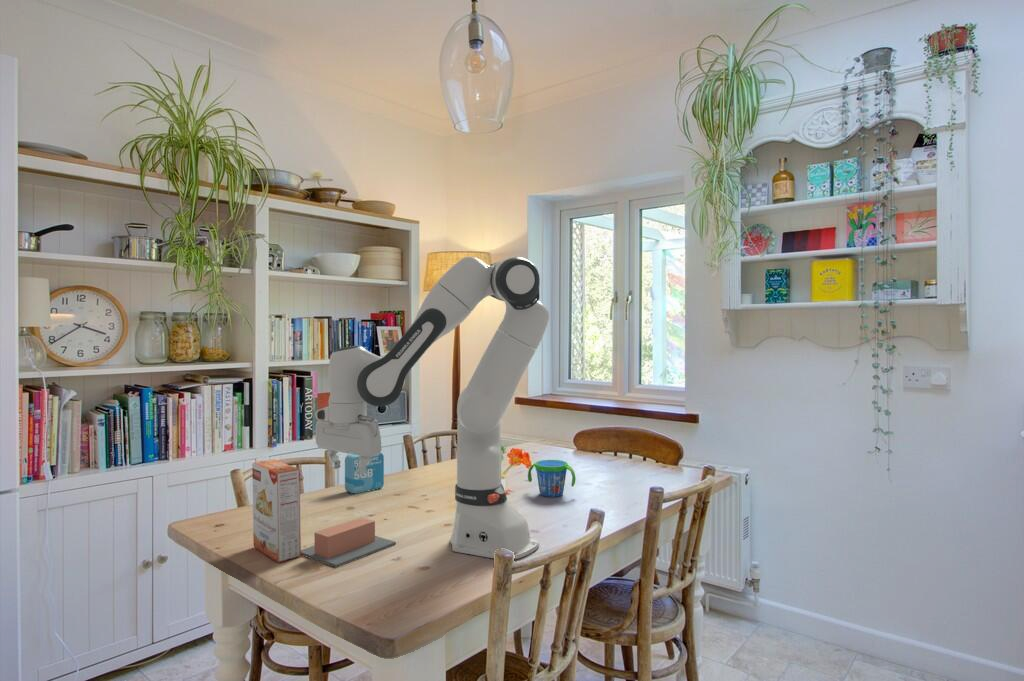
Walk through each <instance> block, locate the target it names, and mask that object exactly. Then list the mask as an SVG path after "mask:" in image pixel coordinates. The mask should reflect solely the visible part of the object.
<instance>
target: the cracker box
mask: <svg viewBox="0 0 1024 681" xmlns="http://www.w3.org/2000/svg"><path fill="white" fill-rule="evenodd" d="M251 464H252V466H251V467H252V468H251V469H252V520H253V521H252V522H253V523H252V527H253V530H252V531H253V537H252V538H253V547H254V548H255V549H257V550H259V551H260V553H261V552H262V553H263V554H265V555H266V556H267V557H269V558H270V559H272V561H273V560H274V561H275V562H276V561H277V562H276V563H278V562H279V563H283V562H286V561H288V560H289V559H290V560H293V559H296V557H297V558H300V557H301V556H302V555H301V550H302V547H301V544H302V543H301V542H302V541H301V538H302V537H301V536H302V534H301V470H300V468H298V467H295V466H293V465H289V464H287V463H284V462H281V461H280V460H276V459H269V460H260V461H256V462H253V463H251ZM282 561H283V562H282Z"/></svg>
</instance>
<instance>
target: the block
mask: <svg viewBox="0 0 1024 681" xmlns="http://www.w3.org/2000/svg"><path fill="white" fill-rule="evenodd" d="M313 536H314V546H315V554H317V555H319V556H322V557H325V558H328V559H329V558H331V557H334V556H337V555H339V554H342V553H345V552H347V551H350V550H353V549H355V548H358V547H361V546H364V545H366V544H369V543H372V542H374V541H375V536H376V521H375V520H372V519H368V518H364V517H363V516H361V517H359V518H355V519H352V520H349V521H346V522H343V523H340V524H337V525H334V526H331V527H327V528H325V529H322V530H318V531H314V535H313Z"/></svg>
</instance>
